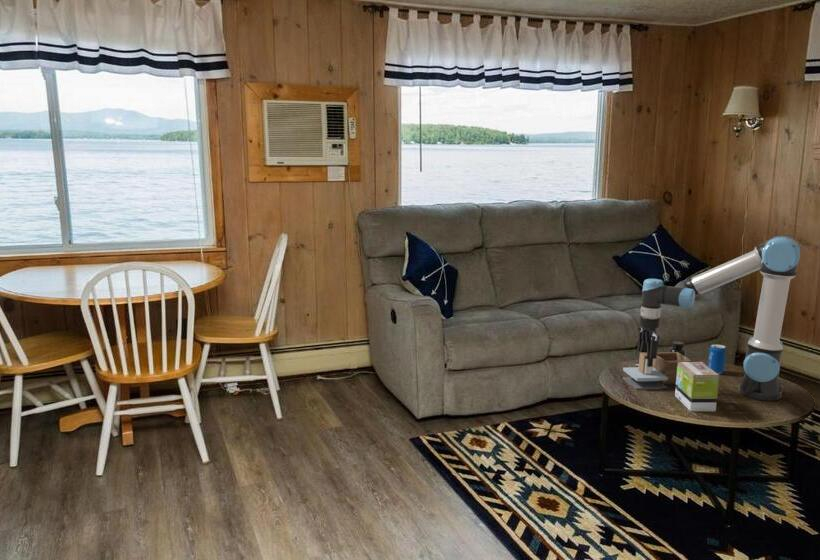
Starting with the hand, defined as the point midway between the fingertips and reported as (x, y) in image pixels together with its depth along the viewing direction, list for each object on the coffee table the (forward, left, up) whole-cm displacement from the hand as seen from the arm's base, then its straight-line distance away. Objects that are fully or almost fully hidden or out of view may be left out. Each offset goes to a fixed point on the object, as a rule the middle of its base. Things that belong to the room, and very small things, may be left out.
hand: (645, 371), depth 267 cm
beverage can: (+11, -38, -6) cm, 40 cm away
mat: (0, 0, -5) cm, 5 cm away
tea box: (-23, -9, -6) cm, 25 cm away
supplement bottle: (+17, -23, -6) cm, 29 cm away
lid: (0, 0, -2) cm, 2 cm away
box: (+4, -13, -5) cm, 15 cm away
